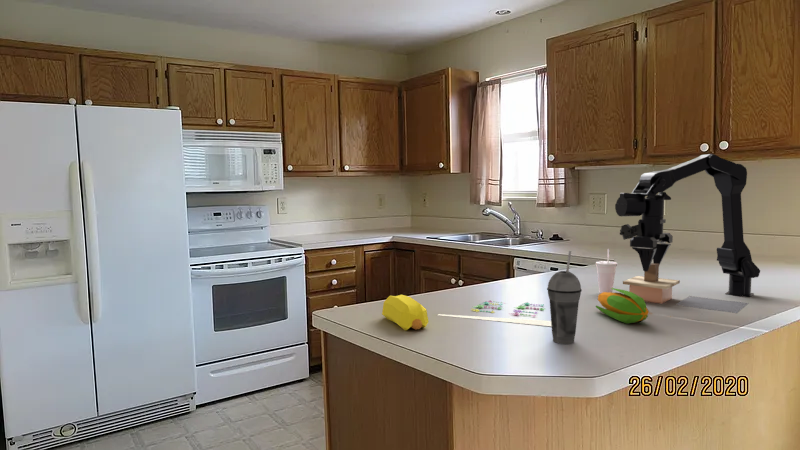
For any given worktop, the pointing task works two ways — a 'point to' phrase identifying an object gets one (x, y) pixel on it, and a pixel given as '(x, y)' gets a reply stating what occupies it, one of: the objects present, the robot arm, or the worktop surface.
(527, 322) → the printed paper
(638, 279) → the lid
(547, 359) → the worktop surface
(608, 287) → the smoothie
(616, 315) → the corn
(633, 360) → the worktop surface
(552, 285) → the beverage cup
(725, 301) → the mat
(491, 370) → the worktop surface
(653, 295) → the open box
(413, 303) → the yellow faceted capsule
